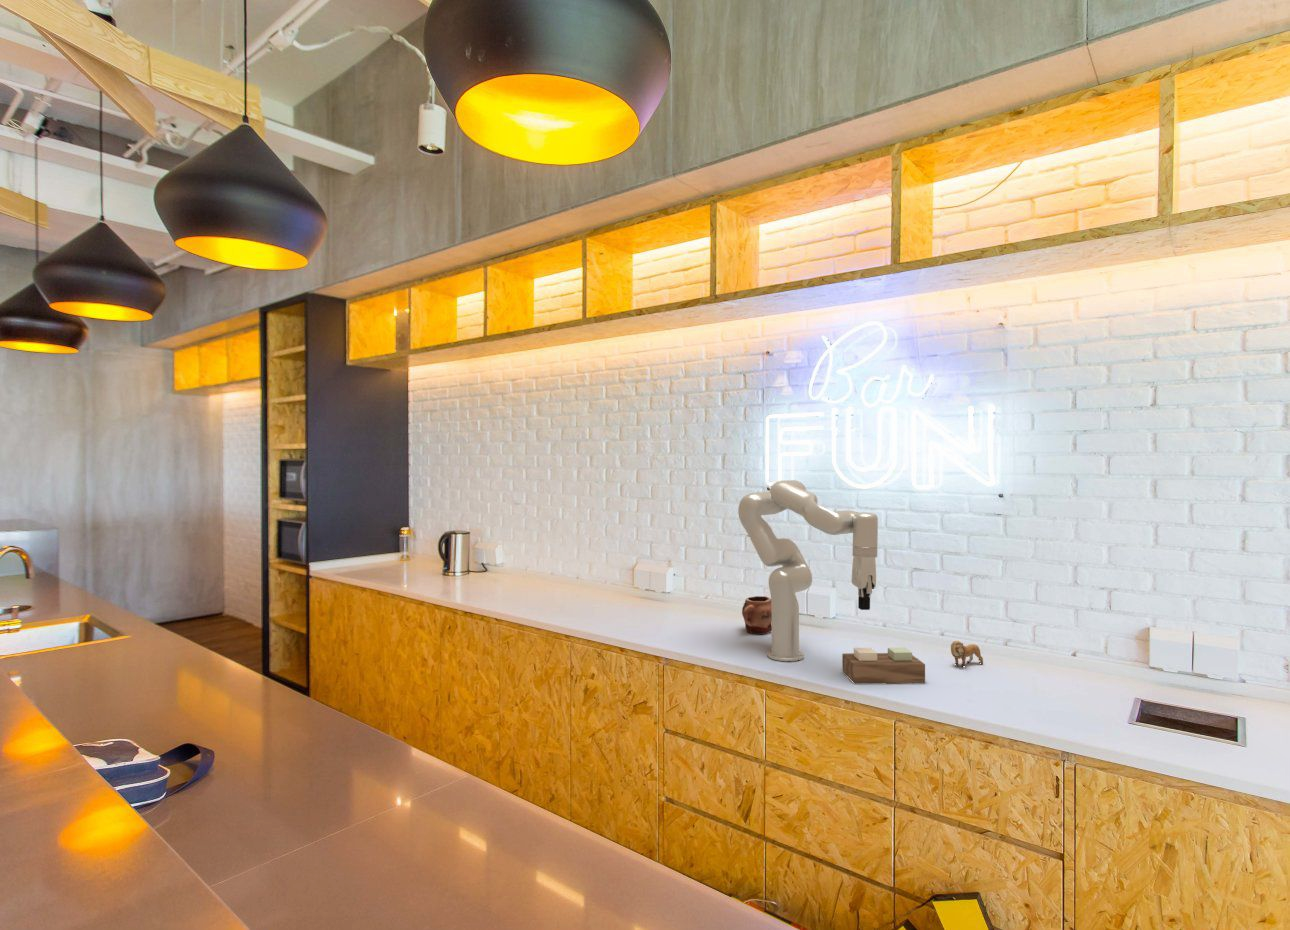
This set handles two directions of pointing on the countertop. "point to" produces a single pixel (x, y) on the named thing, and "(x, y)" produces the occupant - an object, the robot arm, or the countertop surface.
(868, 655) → the cream block
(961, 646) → the lion figurine
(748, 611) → the decorative planter
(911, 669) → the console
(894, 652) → the pale green block
